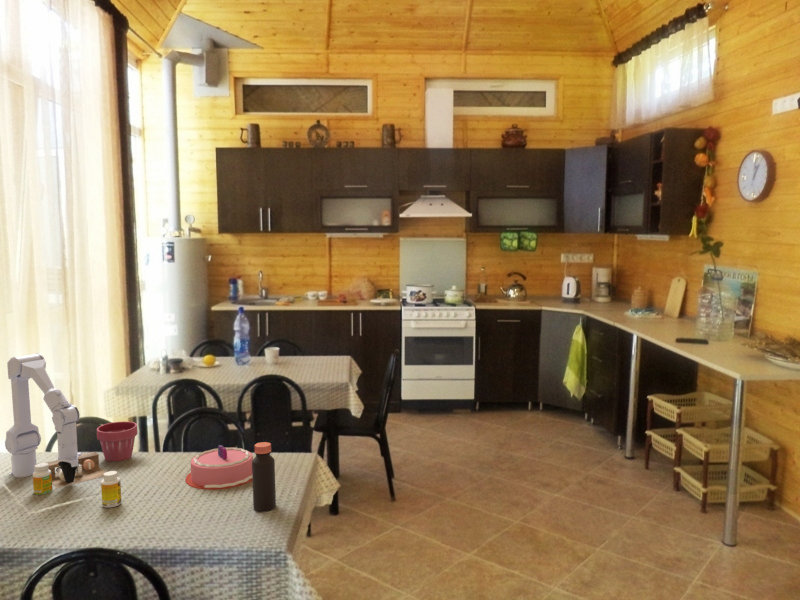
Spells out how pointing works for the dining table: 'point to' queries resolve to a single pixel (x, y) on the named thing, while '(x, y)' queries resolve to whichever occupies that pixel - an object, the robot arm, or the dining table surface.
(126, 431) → the plant pot
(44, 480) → the supplement bottle
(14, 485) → the dining table surface
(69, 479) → the robot arm
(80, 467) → the pot dial
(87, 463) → the knob terracotta
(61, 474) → the knob ivory
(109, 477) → the supplement bottle
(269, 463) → the vinegar
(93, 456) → the mount
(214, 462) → the cake
